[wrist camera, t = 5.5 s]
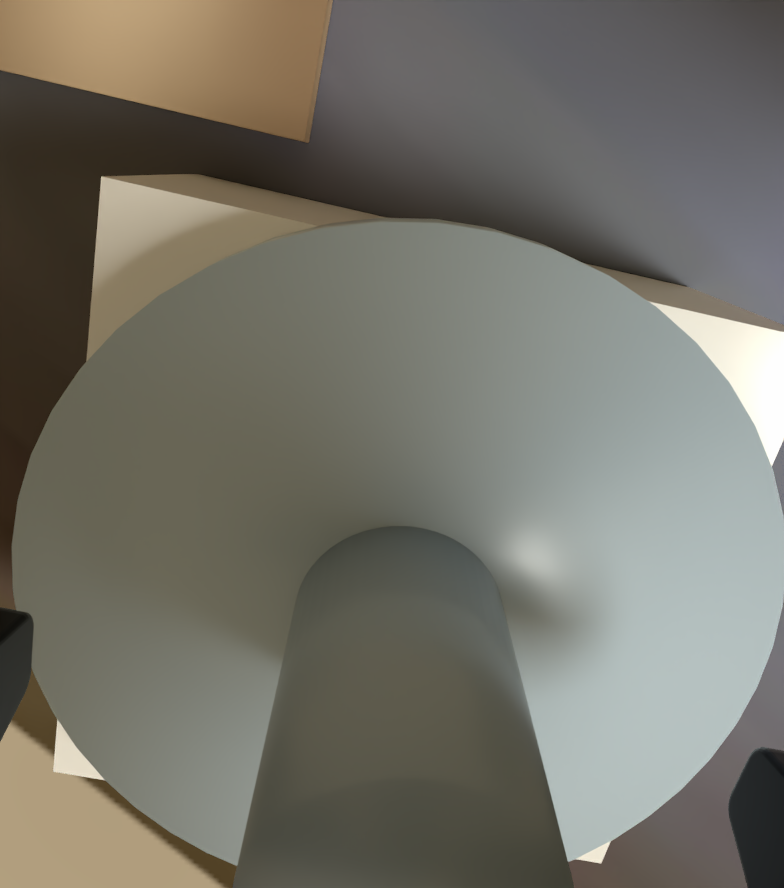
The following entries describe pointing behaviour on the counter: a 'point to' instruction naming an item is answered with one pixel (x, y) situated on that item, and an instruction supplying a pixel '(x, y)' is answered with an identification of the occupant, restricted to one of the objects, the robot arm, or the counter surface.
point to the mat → (179, 55)
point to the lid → (399, 559)
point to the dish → (274, 214)
